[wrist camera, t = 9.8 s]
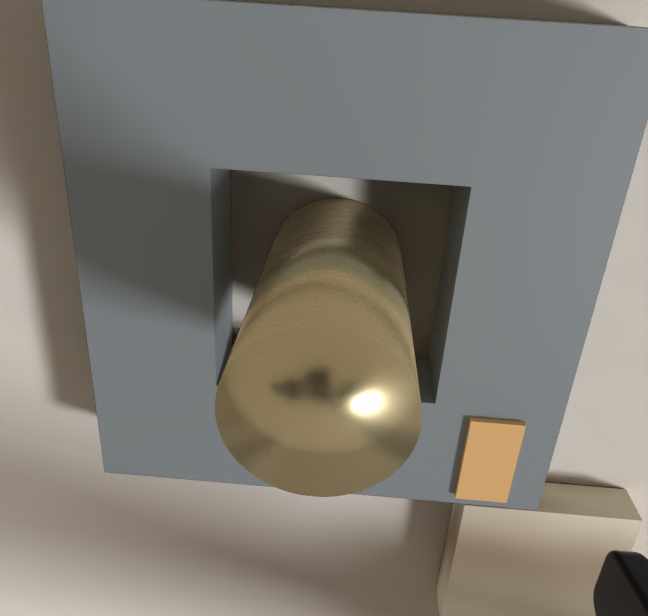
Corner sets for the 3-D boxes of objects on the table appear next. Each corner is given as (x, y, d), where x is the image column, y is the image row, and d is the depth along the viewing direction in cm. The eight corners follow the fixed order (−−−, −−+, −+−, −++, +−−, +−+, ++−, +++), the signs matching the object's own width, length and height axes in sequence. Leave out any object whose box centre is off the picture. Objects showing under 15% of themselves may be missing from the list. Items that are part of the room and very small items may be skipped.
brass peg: (394, 323, 20) (409, 504, 13) (270, 313, 20) (216, 487, 13) (408, 203, 18) (435, 335, 11) (273, 193, 18) (211, 317, 11)
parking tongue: (584, 602, 25) (597, 636, 24) (436, 588, 25) (440, 621, 24) (626, 489, 22) (642, 520, 21) (458, 475, 22) (464, 505, 21)
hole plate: (519, 458, 22) (538, 514, 20) (130, 425, 22) (102, 476, 20) (628, 25, 16) (677, 30, 13) (85, -9, 16) (35, -10, 14)
